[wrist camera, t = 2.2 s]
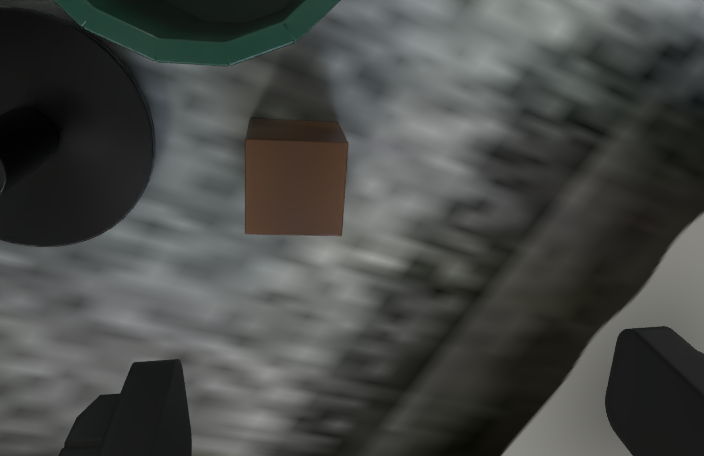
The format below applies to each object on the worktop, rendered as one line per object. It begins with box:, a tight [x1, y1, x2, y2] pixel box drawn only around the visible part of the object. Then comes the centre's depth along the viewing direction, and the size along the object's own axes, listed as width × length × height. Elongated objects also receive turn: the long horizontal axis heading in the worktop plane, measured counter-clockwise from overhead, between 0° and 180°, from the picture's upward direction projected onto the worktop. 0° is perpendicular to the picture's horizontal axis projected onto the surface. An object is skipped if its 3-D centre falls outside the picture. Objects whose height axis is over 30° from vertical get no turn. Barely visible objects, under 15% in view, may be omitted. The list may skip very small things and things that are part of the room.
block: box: [245, 118, 348, 236], centre depth 25 cm, size 4×4×4 cm
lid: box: [0, 7, 155, 247], centre depth 22 cm, size 10×10×6 cm
